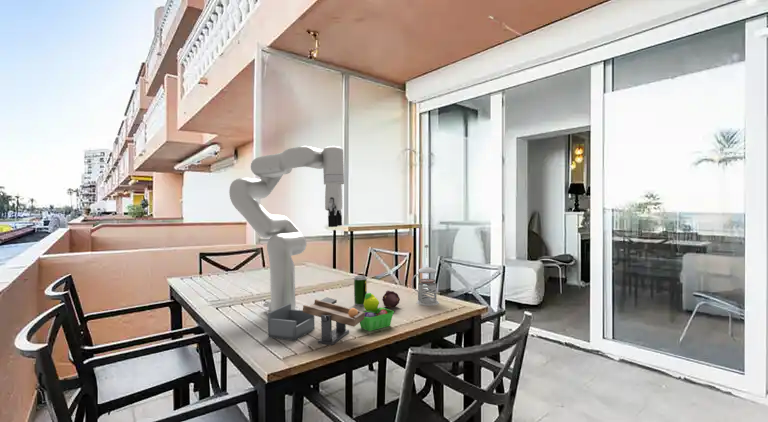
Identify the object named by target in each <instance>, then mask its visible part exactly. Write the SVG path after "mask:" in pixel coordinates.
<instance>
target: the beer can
mask: <svg viewBox="0 0 768 422" xmlns="http://www.w3.org/2000/svg"><path fill="white" fill-rule="evenodd" d="M367 283H368V282H367V276H366V275H364V274H363V275H360V274H359V275H355V276H354V278H353V288H354V292H353V294H354V298H353V299H354V306H357V307H362V306H363V307H364V301H365V295H366V294H367V292H368V286H367Z"/></svg>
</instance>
